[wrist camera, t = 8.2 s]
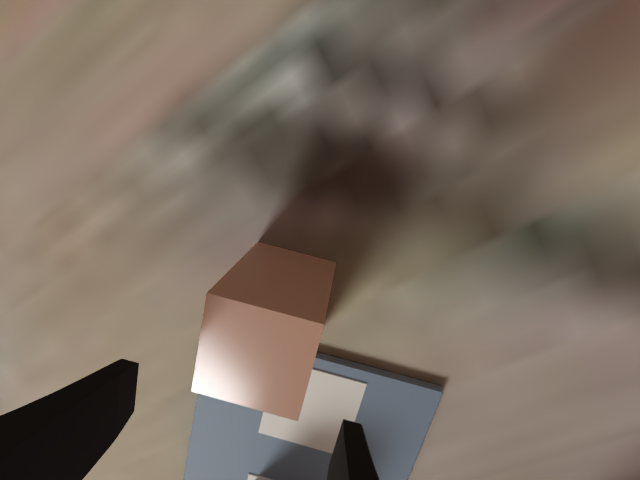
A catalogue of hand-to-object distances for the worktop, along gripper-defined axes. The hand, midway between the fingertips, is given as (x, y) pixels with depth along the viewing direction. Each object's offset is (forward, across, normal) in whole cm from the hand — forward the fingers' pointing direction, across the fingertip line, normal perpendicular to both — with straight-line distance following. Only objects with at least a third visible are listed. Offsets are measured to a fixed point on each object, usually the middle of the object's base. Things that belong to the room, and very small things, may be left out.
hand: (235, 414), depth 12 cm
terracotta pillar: (+9, 0, -1) cm, 9 cm away
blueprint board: (+9, -3, +11) cm, 14 cm away
